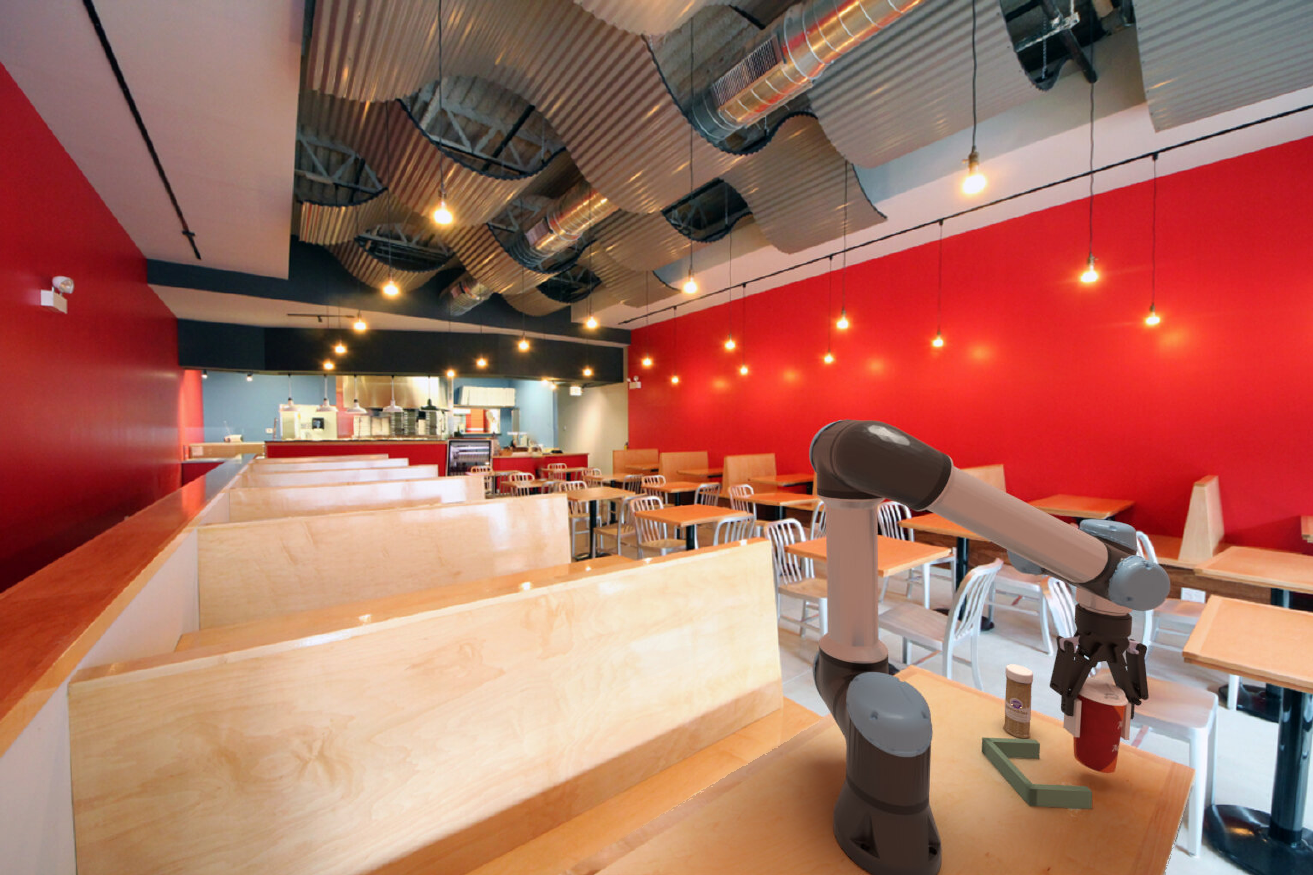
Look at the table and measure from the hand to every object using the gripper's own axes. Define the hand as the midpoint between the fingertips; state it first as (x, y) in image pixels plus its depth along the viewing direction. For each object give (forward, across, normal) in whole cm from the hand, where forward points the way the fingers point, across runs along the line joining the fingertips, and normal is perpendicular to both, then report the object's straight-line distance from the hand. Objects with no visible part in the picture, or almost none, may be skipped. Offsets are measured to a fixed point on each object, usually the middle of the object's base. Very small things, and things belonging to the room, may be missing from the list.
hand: (1095, 733), depth 89 cm
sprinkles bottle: (+9, -4, +14) cm, 17 cm away
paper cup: (+5, 0, 0) cm, 5 cm away
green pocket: (+9, -10, 0) cm, 14 cm away
